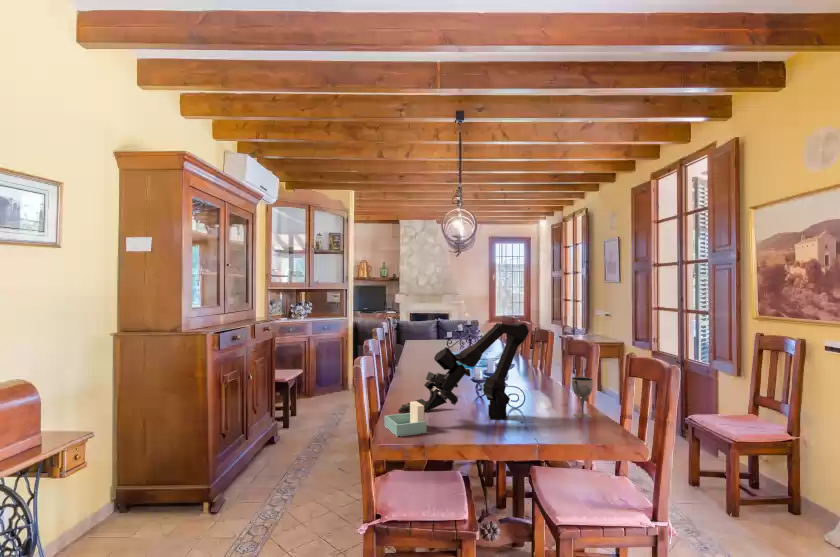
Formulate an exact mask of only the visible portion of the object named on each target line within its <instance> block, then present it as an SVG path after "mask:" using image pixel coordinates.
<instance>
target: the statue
mask: <svg viewBox="0 0 840 557" xmlns="http://www.w3.org/2000/svg"><path fill="white" fill-rule="evenodd" d="M415 401H417V402H419V403H420V404H422V405H424V411H425V410H426V409H425V408H426V406H427V403H428V401H429V399H428V400H424V399H423V398H421V399H417V400H415ZM410 402H411V401H409V402H407V403H405V404H401V407H400V408H399V409H398V410H397V411H398V413H402V412H407V411H409V412H410ZM426 411H427V410H426Z"/></svg>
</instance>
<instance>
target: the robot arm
mask: <svg viewBox="0 0 840 557" xmlns="http://www.w3.org/2000/svg"><path fill="white" fill-rule="evenodd" d="M529 331H530V330H529V328H528V326H527V325H526V324H525V323H520V322H511V323H510V324H505V323H501V322H496V323H495V324H494V326H492V327H491V328H490V330H488V331H487V332H486V333H485V334H484V335H483V336H482V337H481V338H480V339H478V340H477V341H476V342H475V343H474V344H473V345H470V346H468V347H466V348H464V349H463V350H461V351H460V352H459V353H456V354H454V353H453V352H452V351H451V349H450V348H449V347H444V348H443V349H441V350H440V351H438V352H437V353H435V355H434V357H433V360H434V361H435V362H436V363H437V364H438V365H439V366H440V367H441V368H442V369H443V370H444V371H447V372H446V373H445V374H444V373H440V372H437V373H433V372H431V371H428V373H427V375H426V378H425V380H426V382H425V383H424V387H426V389H427V390H428V391H429V394H430V395H429V398H428V400H429V401H428V400H427V401H428V403H427V406H426V408H425V409H426V412H430V411H431V410H433V409H435V408H437V407H439V406H441V405H444V404H447V403H448V402H447V400H448V401H450V404H451V405H454V406H455V405H456V404H457V403H458V402H459V398H458V396H457V395H456V394H455V393H453V392H452V391H453V390H454V389H456V388H458V387H459V385H458V384H459V383H460V381H461V380H462V379H463V377H465V376H466V377H471V372H470V371H471V369H470V368H473V367H475V366H477V364H478V363H479V361H480V360H481V359H482V356H483V354H484V353H485V351H487V350H488V349H489V348H490V347H491V346H492V345H493V344H494V343H495V342H497V340H499V339H500V338H501V336H503V335H504V334H505V335H506V343H505V346H504V348H503V349H502V350H503V351H502V353H501V355H500V357H499V361H498V363H497V365H496V368H495V370H494V373H493V374H492V376H490V377H489V376H486V378H485V381H484V384H482V387H483V389H482V392H483V395H484V396H485V397H486V400H487V401H489V404H488V405H487V407H488V408H487V412H488V413H487V414H488V415H487V416H488V417H489V418H490V420H508V418H507V417H508V416H507V404H509V403H510V399H511V398H510V397H509V396H508V394H506V392H505V391H506V378H507V375H508V373H509V371H510V368H511V365H512V363H513V361H514V358H515V355H516V353H517V351H518V348H519V346H520V345H521V344H522V343H524V342H525V340H526V339H527V337H528V335H529V333H530V332H529ZM459 363H460V364H459ZM466 367H469V368H466ZM433 382H434V383H433Z"/></svg>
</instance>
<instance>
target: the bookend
mask: <svg viewBox="0 0 840 557" xmlns="http://www.w3.org/2000/svg"><path fill="white" fill-rule="evenodd" d="M409 402H410V410H409V413H410V423H414V422H422V421H425V410H424V405H422V404H420V403H419V402H417V401H416V400H414V401H409Z"/></svg>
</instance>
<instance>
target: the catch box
mask: <svg viewBox="0 0 840 557" xmlns="http://www.w3.org/2000/svg"><path fill="white" fill-rule="evenodd" d="M384 427H385V428H386V429H387V428H388V429H389V430H390V431H391V432H390V431H389V430H388V429H387V430H388V431H389V432H390V433H392V434H393V435H394V434H395V435H396V436H395V435H394V436H395V437H397V438H398V436H400V437H406V436H414V435H420V434H421V433H422V434H427V430H428V429H427V421H426V420H424V421H422V422H414V423H410V412H405V413H398V414H397V413H395V414H387V415H384Z"/></svg>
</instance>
